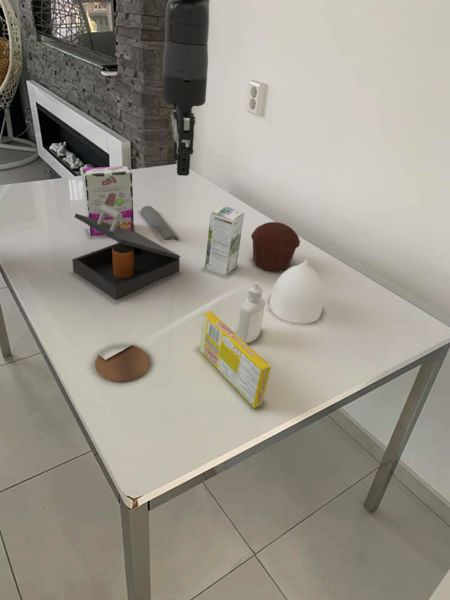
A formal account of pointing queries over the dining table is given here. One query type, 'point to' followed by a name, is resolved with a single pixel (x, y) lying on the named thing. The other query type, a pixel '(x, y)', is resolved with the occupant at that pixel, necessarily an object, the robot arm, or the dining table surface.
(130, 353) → the coaster
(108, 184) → the candy bar box
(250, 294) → the eye dropper bottle
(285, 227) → the muffin
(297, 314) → the teardrop
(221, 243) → the syrup box
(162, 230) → the half round rod
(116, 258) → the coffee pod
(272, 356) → the dining table surface
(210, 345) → the candy box
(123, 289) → the open lid tray box
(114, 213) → the box lid
